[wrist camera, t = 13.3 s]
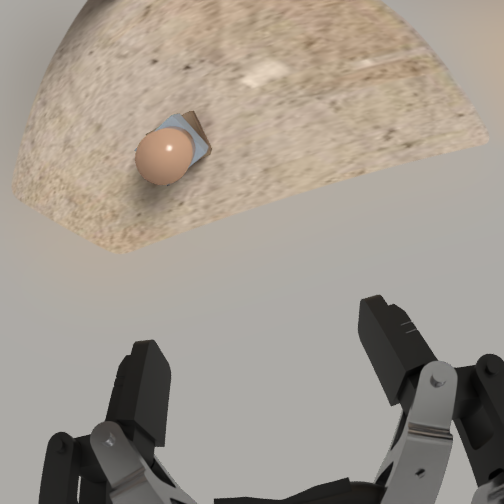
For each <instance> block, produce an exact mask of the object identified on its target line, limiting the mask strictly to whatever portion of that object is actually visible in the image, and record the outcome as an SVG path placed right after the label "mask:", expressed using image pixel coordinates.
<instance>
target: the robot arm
mask: <svg viewBox="0 0 504 504" xmlns="http://www.w3.org/2000/svg"><path fill="white" fill-rule="evenodd" d="M358 333H359V337H360V341H361V343H362V345H363V347H364V349H365V351H366V353H367V355H368V357H369V359H370V361H371V363H372V366H373V368H374V370H375V372H376V374H377V376H378V378H379V381H380V383H381V385H382V387H383V389H384V391H385V393H386V396H387V398H388V400H389V403H390V405H391V406H393V405H396V404H399V403H400V404H401V406H402V409H403V410H402V412H401V416H400V419H399V422H398V425H397V428H396V431H395V434H394V437H393V440H392V442H391V445H390V448H389V450H388V453H387V455H386V457H385V459H384V461H383V463H382V465H381V467H380V469H379V471H378V473H377V476H376V478H375V480H374V482H373V483H369V482H358V481H356V482H355V481H354V482H350V481H349V478H348V477H347V478H344V479H340V480H337V481H334V482H329V483H325V484H321V485H317V486H314V487H312V488H310V489H308V490H305V491H303V492H301V493H298V494H296V495H294V496H291V497H289V498H286V499H283V500H272V499H260V498H252V497H238V498H220V499H214V504H434V503H435V500H436V498H437V495H438V492H439V489H440V486H441V483H442V480H443V477H444V474H445V471H446V467H447V464H448V460H449V456H450V452H451V448H452V443H453V436H452V434H450V425H451V420H453V421H454V423H455V426H456V428H457V430H458V433H459V435H460V438H461V440H462V443H463V445H464V448H465V451H466V453H467V456H468V459H469V462H470V464H471V467H472V470H473V473H474V476H475V479H476V483H477V485H478V489H477V490H476V492H475V494H474V496H473V499H472V502H471V504H504V361H503V360H502V359H501V358H500V357H498V356H497V355H494V354H486V355H483V356H482V357H480V358H479V360H478V361H477V363H476V365H472V366H466V367H459V368H453V367H452V366H451V365H450V364H448V363H446V362H443V361H438V360H437V358H436V357H435V356H434V354H433V352H432V351H431V349H430V348H429V346H428V344H427V343H426V342H425V340H424V338H423V337H422V336H421V334H420V332H419V331H418V330H417V328H416V327H415V325H414V324H413V323H412V322H411V320H410V318H409V317H408V315H407V314H406V312H405V311H404V310H402V309H401V308H399V307H398V306H397V305H395V304H392V305H389V306H388V305H387V303H386V302H385V300H384V299H383V297H382V296H381V295H375V296H372V297H368V298H365V299H362V300H361V301H360V310H359V322H358ZM116 377H117V378H116V379H115V382H114V387H113V390H112V394H111V398H110V402H109V407H108V411H107V415H106V419H105V421H104V422H102V423H100V424H98V425H97V426H96V427H95V428H94V429H93V431H92V433H91V434H90V435H86V436H81V437H77V438H72V437H71V436H70V435H68V434H67V433H65V432H58V433H56V434H55V435H53V436H52V437H51V439H50V440H49V442H48V446H47V451H46V456H45V461H44V467H43V473H42V480H41V486H40V494H39V504H197V503H196V502H195V501H194V500H193V499H192V498H191V497H190V496H189V495H188V494H186V493H185V492H184V491H183V490H182V489H181V488H180V487H179V486H178V484H177V483H176V482H175V481H174V479H173V478H172V477H171V476H170V474H169V473H168V472H167V470H166V469H165V468H164V466H163V465H162V464H161V462H160V461H159V460H158V459H157V457H156V456H155V454H154V448H155V447H164V446H165V434H166V421H167V411H168V400H169V392H170V383H171V370H170V366H169V363H168V362H167V360H166V358H165V357H164V355H163V353H162V352H161V351H160V348H159V347H158V345H157V343H156V342H155V341H154V340H145V341H137V342H135V343H134V344H133V348H132V352H131V355H126V356H125V358H124V359H123V361H122V362H121V364H120V365H119V368H118V371H117V375H116ZM79 476H81V484H80V495H79V503H78V501H77V490H78V480H79Z"/></svg>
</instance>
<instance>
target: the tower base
mask: <svg viewBox="0 0 504 504" xmlns="http://www.w3.org/2000/svg"><path fill="white" fill-rule="evenodd" d="M181 116H182V117H183V118H184V119H185V120H186V121H187V122H188V123H189V125H190V126H191V127H192V128H193V129H194V130H195V131H196V132H197V134H198V135H199V136H200V137H201V138H202V139H203V140H204V142H205V143H206V144H207V145H208V146H209V147H208V150H207V152H206V154H204V155H203V156H202V157H201V158H200V159H202V158H204V157H206V156H208V155H210V154H211V150H212V148H211V145H210V143H209V141H208V139H207V137H206V135H205V133H204V131H203V129H202V127H201V125H200V123H199V121H198V118H197V116H196V114H195V112H194V111H189V112H187V113H185V114H183V115H181ZM156 129H157V128H156ZM156 129H155V130H156ZM155 130H153V131H151V132H149V133H147V134H146V136H147V135H148V134H150V133H152V132H154V131H155ZM200 159H198V160H200Z"/></svg>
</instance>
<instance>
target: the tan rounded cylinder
mask: <svg viewBox="0 0 504 504" xmlns="http://www.w3.org/2000/svg"><path fill="white" fill-rule="evenodd" d="M195 151H196V147H195V142H194V139H193V137H192V136H191V134H190V133H189V132H188V131H186V130H185V129H183V128H181V127H177V126H169V127H165V128H162V129H160V130H157V131H154V132H152V133H150V134H148V135H147V136H146V137H144V138H143V139H142V140H141V142H140V143H139V145H138V147H137V150H136V155H135V161H136V166H137V169H138V171H139V172H140V174H141V175H142V176H143V177H144V178H145V179H146V180H147V181H149V182H151V183H153V184H157V185H167V184H171V183H174V182H176V181H177V180H179V179H180V178H181V177H182V176H183V175H184V174H185V172H186V171H187V169H188V167H189V165H190V164H191V162H192V160H193V158H194V155H195Z"/></svg>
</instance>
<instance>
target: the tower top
mask: <svg viewBox="0 0 504 504" xmlns="http://www.w3.org/2000/svg"><path fill="white" fill-rule="evenodd" d="M169 126H177V127H181V128H183V129H185V130H186V131H188V132H189V133H190V134H191V136H192V137H193V139H194V142H195V147H196V151H195V155H194V158H193V160H192V162H191V164H190V165H189V167H190V166H191V165H192V164H194V163H195V162H196V161H197V160H198V159H200V158H201V157H202V156H203V155H204V154H206V152H207V150H208V147H209V146H208V145H207V144H206V143H205V142H204V140H203V139H202V138H201V137H200V136H199V135H198V134H197V132H196V131H195V130H194V129H193V128H192V127H191V126H190V125H189V123H188V122H187V121H186V120H185V119H184V118H183V117H182V116H181V115H180V114H174V115H171V116H170V117H169V118H168V119H167V120H166V121H165V122H164V123H162V124H161V125H160V126H159V127H158V128H157V129H156V130H155V131H157V130H160V129H162V128H165V127H169ZM136 150H137V148H136V149H135V151H136ZM189 167H188V168H189ZM168 185H170V184H167V186H168Z"/></svg>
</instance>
